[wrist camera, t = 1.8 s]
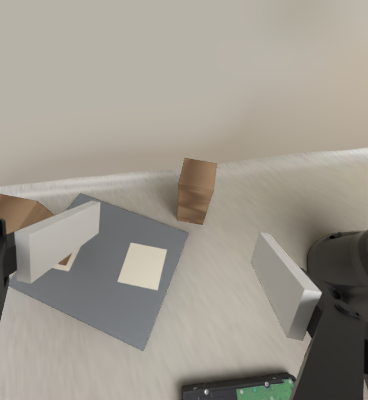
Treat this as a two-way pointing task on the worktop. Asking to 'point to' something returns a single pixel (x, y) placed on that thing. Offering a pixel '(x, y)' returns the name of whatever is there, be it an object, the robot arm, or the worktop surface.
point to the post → (195, 190)
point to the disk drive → (243, 389)
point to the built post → (23, 214)
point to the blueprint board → (114, 274)
